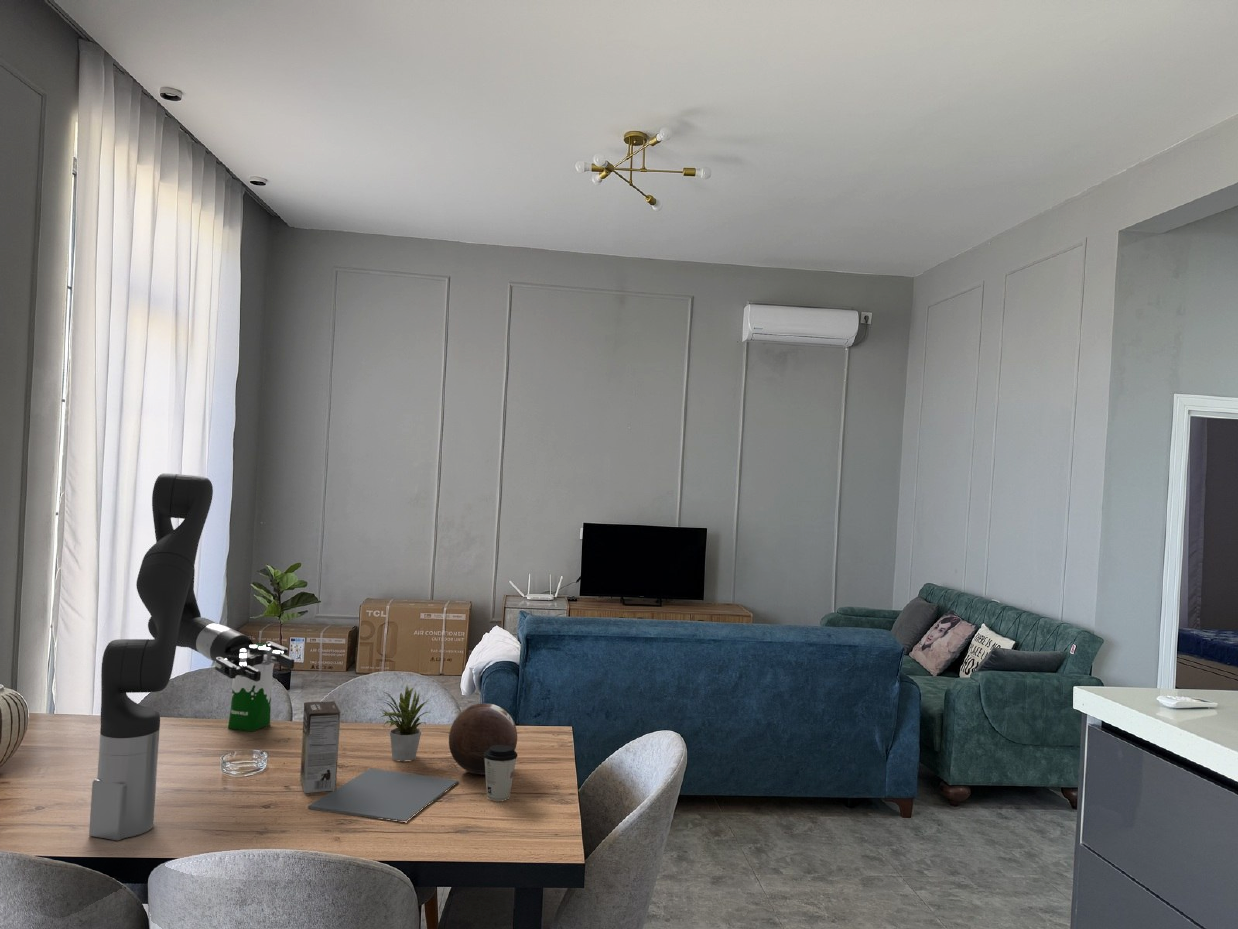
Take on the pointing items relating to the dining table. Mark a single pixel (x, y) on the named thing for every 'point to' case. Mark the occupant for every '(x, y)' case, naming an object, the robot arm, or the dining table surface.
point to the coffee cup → (499, 771)
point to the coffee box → (320, 746)
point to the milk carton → (252, 699)
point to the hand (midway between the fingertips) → (276, 670)
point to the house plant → (404, 727)
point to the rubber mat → (384, 795)
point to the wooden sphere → (480, 735)
